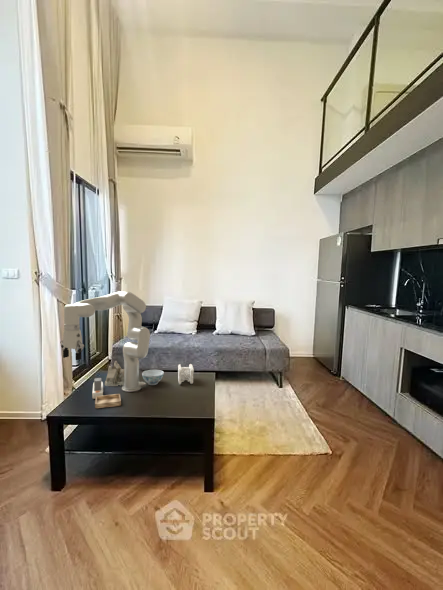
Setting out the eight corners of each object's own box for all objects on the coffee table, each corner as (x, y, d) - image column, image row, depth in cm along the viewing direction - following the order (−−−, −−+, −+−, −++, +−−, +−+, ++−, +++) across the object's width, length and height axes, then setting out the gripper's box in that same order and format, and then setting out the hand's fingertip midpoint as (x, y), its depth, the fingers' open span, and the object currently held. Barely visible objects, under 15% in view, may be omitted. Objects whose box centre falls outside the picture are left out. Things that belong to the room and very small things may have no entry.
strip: (102, 386, 213) (102, 381, 213) (102, 397, 195) (102, 391, 194) (93, 387, 211) (93, 381, 211) (92, 398, 193) (92, 392, 192)
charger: (101, 390, 204) (101, 377, 203) (101, 394, 198) (101, 380, 198) (94, 391, 202) (94, 378, 202) (94, 394, 197) (94, 381, 196)
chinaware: (145, 379, 230) (145, 369, 229) (165, 380, 229) (165, 370, 229) (139, 386, 215) (139, 375, 214) (160, 387, 214) (161, 376, 214)
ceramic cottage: (100, 384, 217) (102, 363, 216) (117, 378, 232) (118, 358, 231) (118, 389, 211) (120, 367, 210) (134, 383, 226) (136, 362, 225)
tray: (119, 397, 195) (119, 393, 195) (120, 405, 184) (120, 401, 184) (95, 400, 191) (95, 396, 190) (95, 408, 179) (95, 404, 179)
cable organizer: (177, 378, 234) (178, 363, 233) (192, 378, 236) (192, 363, 235) (178, 385, 219) (178, 369, 218) (193, 385, 221) (194, 369, 220)
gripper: (89, 327, 170) (89, 359, 172) (66, 325, 178) (67, 354, 179) (77, 330, 164) (77, 362, 165) (54, 326, 171) (55, 357, 172)
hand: (72, 358), depth 172 cm, fingers open, 9 cm apart
